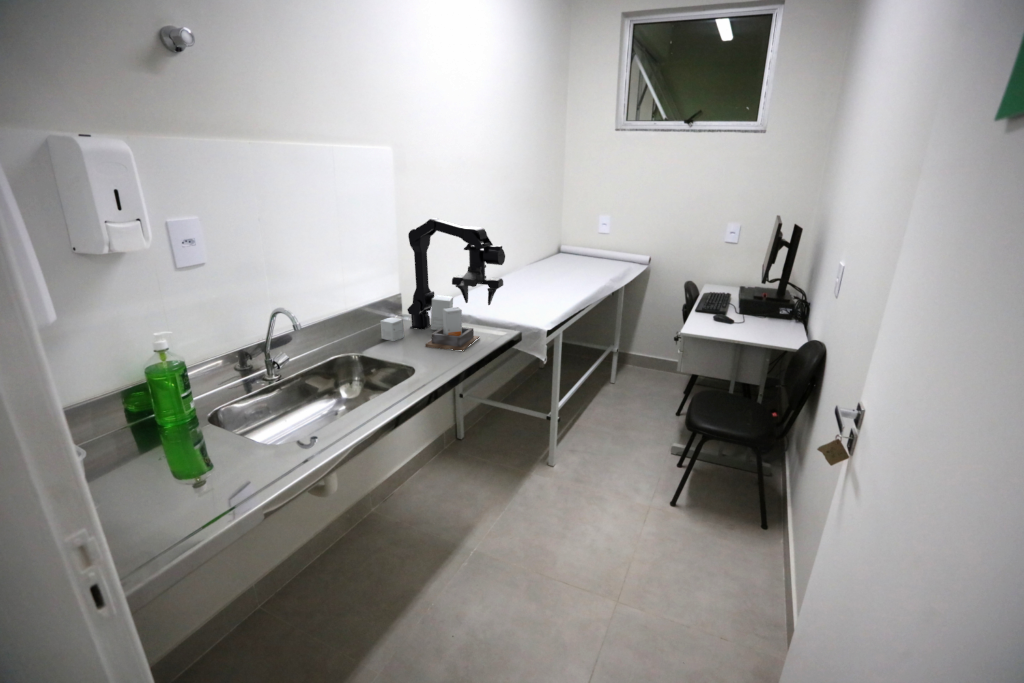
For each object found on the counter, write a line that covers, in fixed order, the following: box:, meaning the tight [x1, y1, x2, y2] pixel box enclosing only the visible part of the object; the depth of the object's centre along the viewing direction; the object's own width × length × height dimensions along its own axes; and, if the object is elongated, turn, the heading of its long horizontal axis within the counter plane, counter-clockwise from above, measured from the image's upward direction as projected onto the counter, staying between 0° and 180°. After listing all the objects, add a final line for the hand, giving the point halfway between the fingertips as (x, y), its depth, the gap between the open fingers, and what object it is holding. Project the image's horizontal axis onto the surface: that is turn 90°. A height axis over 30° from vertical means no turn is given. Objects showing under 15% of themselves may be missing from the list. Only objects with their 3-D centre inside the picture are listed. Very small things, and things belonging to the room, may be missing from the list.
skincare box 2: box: [443, 306, 463, 336], centre depth 186 cm, size 6×4×12 cm
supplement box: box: [430, 294, 454, 331], centre depth 202 cm, size 7×7×13 cm
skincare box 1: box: [380, 317, 405, 342], centre depth 192 cm, size 6×6×7 cm
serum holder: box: [424, 326, 480, 352], centre depth 188 cm, size 15×15×4 cm
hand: (477, 303), depth 191 cm, fingers open, 9 cm apart
